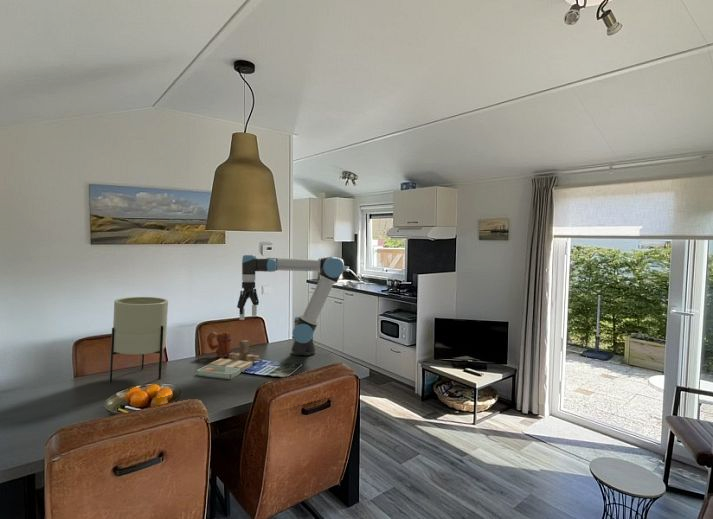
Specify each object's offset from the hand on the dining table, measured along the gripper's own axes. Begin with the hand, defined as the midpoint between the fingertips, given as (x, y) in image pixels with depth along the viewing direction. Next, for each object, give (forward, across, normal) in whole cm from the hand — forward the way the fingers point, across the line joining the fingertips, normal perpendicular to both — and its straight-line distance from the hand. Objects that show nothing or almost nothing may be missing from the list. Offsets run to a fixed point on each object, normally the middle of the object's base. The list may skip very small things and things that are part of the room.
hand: (248, 317), depth 231 cm
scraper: (+25, +4, 0) cm, 25 cm away
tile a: (+22, +26, +5) cm, 34 cm away
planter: (+25, +44, -34) cm, 61 cm away
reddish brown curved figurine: (+25, 0, -19) cm, 31 cm away
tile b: (+22, +28, -6) cm, 37 cm away
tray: (+25, +28, 0) cm, 37 cm away
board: (+25, +18, 0) cm, 30 cm away
